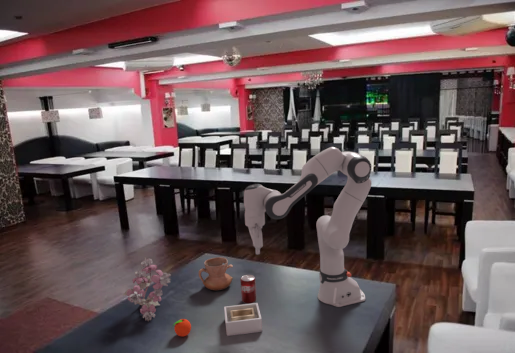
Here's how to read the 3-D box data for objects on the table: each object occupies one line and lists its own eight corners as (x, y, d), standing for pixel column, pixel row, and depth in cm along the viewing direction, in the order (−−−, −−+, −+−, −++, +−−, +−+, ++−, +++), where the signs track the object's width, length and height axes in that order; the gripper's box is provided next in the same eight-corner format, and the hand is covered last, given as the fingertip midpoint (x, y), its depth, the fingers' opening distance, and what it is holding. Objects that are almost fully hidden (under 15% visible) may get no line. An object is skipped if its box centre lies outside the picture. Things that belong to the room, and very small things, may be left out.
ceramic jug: (233, 278, 213) (231, 254, 210) (235, 291, 199) (233, 265, 196) (200, 282, 211) (197, 258, 208) (200, 295, 197) (197, 269, 194)
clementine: (174, 342, 159) (172, 327, 158) (171, 333, 166) (169, 318, 164) (193, 337, 162) (192, 321, 161) (189, 328, 169) (188, 313, 167)
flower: (107, 316, 179) (117, 276, 168) (137, 288, 199) (147, 251, 188) (143, 338, 175) (155, 299, 164) (170, 308, 195) (182, 271, 185)
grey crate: (258, 314, 176) (257, 302, 175) (262, 331, 164) (261, 318, 162) (225, 318, 174) (224, 306, 173) (226, 336, 162) (225, 323, 161)
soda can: (254, 304, 185) (253, 281, 182) (240, 304, 186) (238, 280, 184) (257, 297, 192) (256, 274, 189) (243, 296, 193) (242, 274, 191)
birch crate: (253, 318, 172) (252, 307, 171) (255, 325, 167) (254, 315, 166) (231, 320, 171) (230, 310, 170) (232, 328, 165) (231, 318, 164)
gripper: (265, 227, 163) (266, 258, 166) (258, 213, 183) (260, 241, 186) (250, 228, 163) (252, 259, 165) (245, 214, 182) (247, 242, 185)
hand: (256, 249), depth 176 cm, fingers open, 8 cm apart
